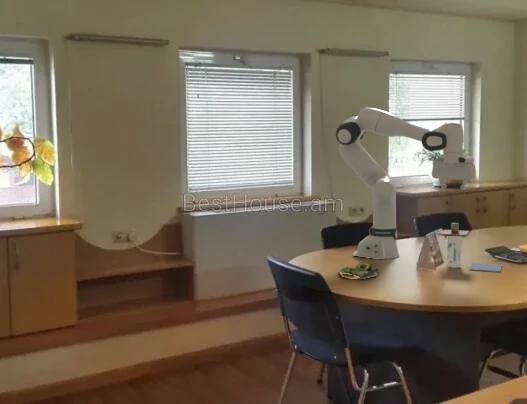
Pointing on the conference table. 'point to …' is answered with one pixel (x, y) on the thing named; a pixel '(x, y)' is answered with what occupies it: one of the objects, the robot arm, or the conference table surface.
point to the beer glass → (454, 251)
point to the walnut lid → (454, 231)
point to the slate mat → (485, 267)
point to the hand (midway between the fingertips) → (453, 189)
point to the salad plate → (360, 270)
